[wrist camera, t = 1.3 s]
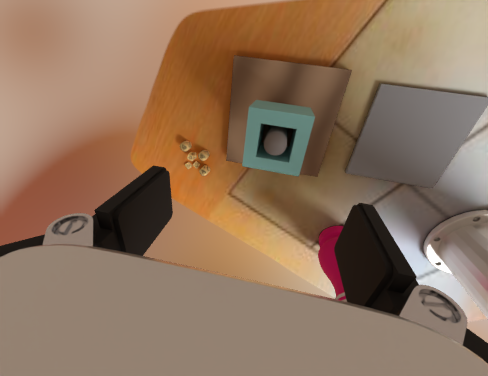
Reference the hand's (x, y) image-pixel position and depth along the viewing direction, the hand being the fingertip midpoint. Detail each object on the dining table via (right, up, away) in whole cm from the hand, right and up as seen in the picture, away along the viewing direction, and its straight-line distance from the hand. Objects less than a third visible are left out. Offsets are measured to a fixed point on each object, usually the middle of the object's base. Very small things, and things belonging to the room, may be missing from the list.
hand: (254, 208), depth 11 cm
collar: (+4, +8, +14) cm, 16 cm away
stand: (+5, +11, +19) cm, 22 cm away
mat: (+21, +8, +17) cm, 28 cm away
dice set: (-8, +6, +25) cm, 27 cm away
